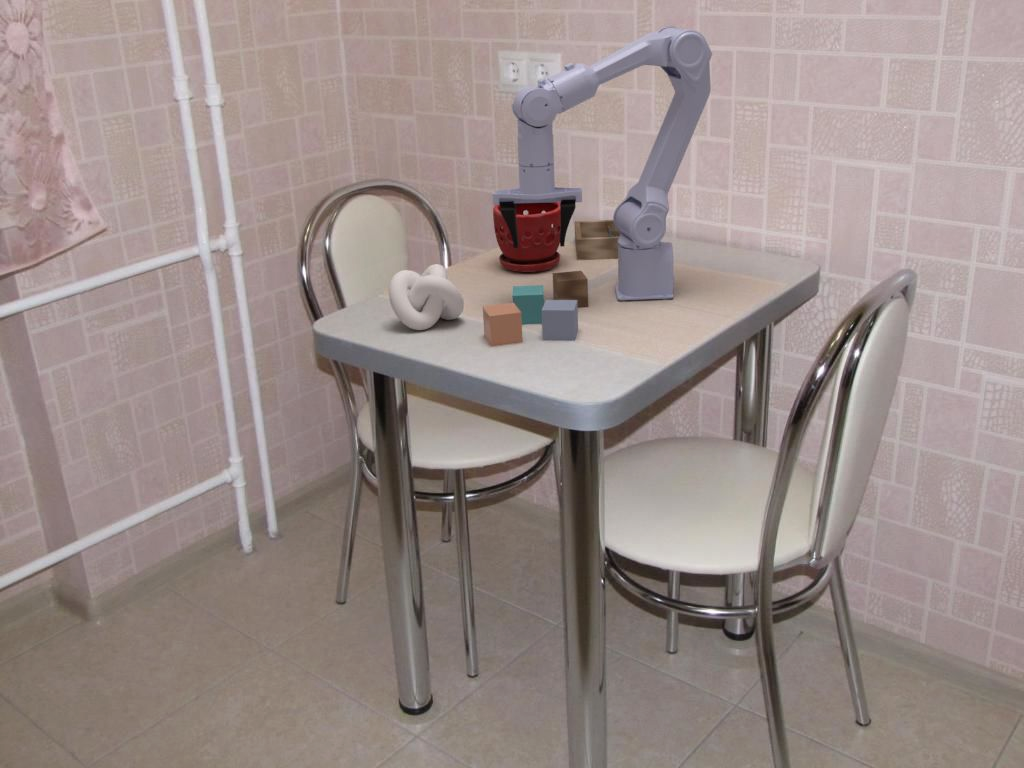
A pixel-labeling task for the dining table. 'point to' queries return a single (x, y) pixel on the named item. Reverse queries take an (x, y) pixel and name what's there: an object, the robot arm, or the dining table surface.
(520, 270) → the plant pot
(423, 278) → the white knot sculpture
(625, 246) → the robot arm
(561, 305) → the slate-blue block
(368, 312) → the dining table surface
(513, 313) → the terracotta block
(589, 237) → the wooden compartment box
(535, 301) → the teal block
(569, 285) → the walnut block
